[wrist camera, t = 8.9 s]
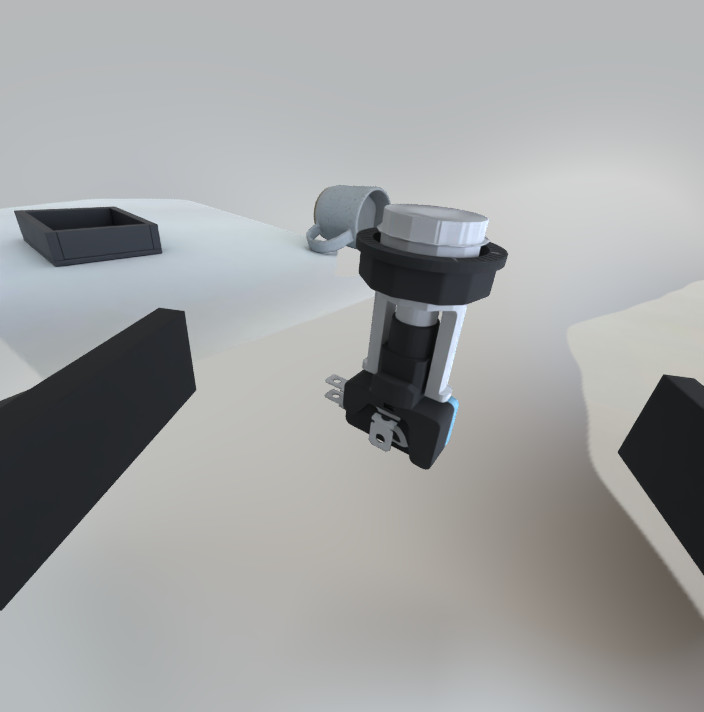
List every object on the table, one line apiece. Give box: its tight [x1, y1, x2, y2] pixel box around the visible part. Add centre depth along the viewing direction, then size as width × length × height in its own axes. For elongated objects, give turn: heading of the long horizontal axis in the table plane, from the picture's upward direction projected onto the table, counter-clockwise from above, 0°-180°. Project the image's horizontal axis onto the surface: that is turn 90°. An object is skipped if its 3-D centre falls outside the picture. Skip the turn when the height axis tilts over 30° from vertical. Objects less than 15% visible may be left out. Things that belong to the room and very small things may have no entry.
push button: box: [325, 204, 508, 469], centre depth 16 cm, size 7×5×10 cm
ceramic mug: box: [307, 185, 391, 253], centre depth 47 cm, size 11×8×8 cm
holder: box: [14, 207, 162, 267], centre depth 39 cm, size 10×12×3 cm
